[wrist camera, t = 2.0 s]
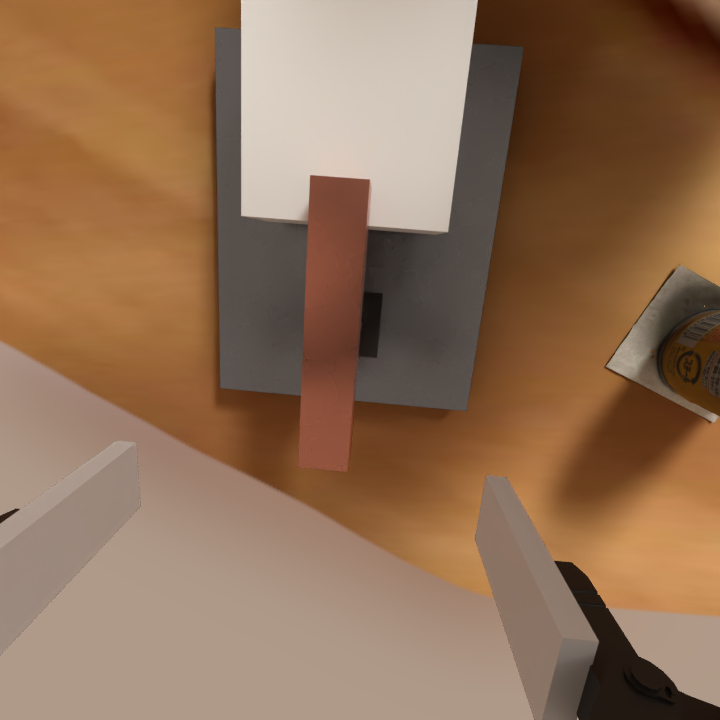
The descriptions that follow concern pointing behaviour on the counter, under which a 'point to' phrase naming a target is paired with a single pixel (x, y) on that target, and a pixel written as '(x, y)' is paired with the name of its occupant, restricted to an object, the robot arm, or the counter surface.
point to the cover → (354, 105)
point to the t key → (332, 318)
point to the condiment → (678, 345)
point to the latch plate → (367, 261)
